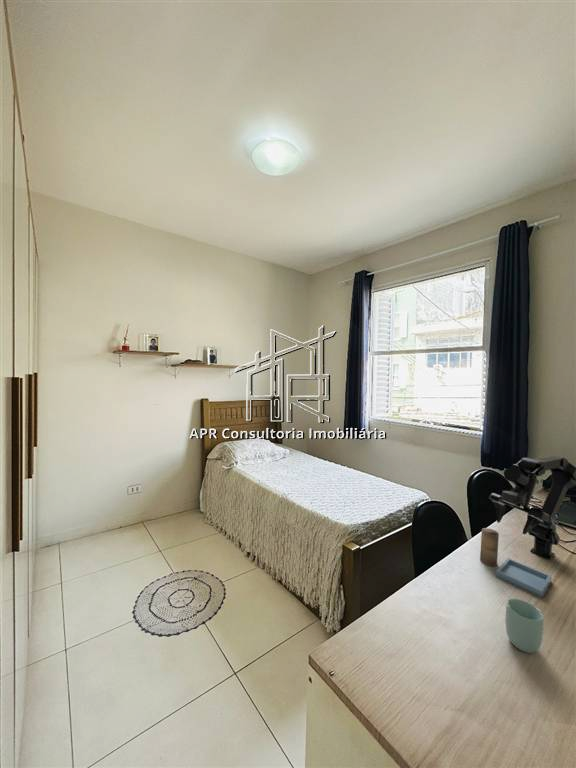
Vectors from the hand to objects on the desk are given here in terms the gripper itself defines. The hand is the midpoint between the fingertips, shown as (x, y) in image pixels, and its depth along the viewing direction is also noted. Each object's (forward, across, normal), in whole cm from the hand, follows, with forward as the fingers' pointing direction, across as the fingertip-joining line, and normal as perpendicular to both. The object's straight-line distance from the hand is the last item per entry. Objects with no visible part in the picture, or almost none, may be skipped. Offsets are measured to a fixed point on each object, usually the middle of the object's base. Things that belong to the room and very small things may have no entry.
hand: (510, 528), depth 116 cm
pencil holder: (+15, -4, +1) cm, 16 cm away
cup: (+28, +24, -24) cm, 44 cm away
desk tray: (+15, +7, +3) cm, 17 cm away
